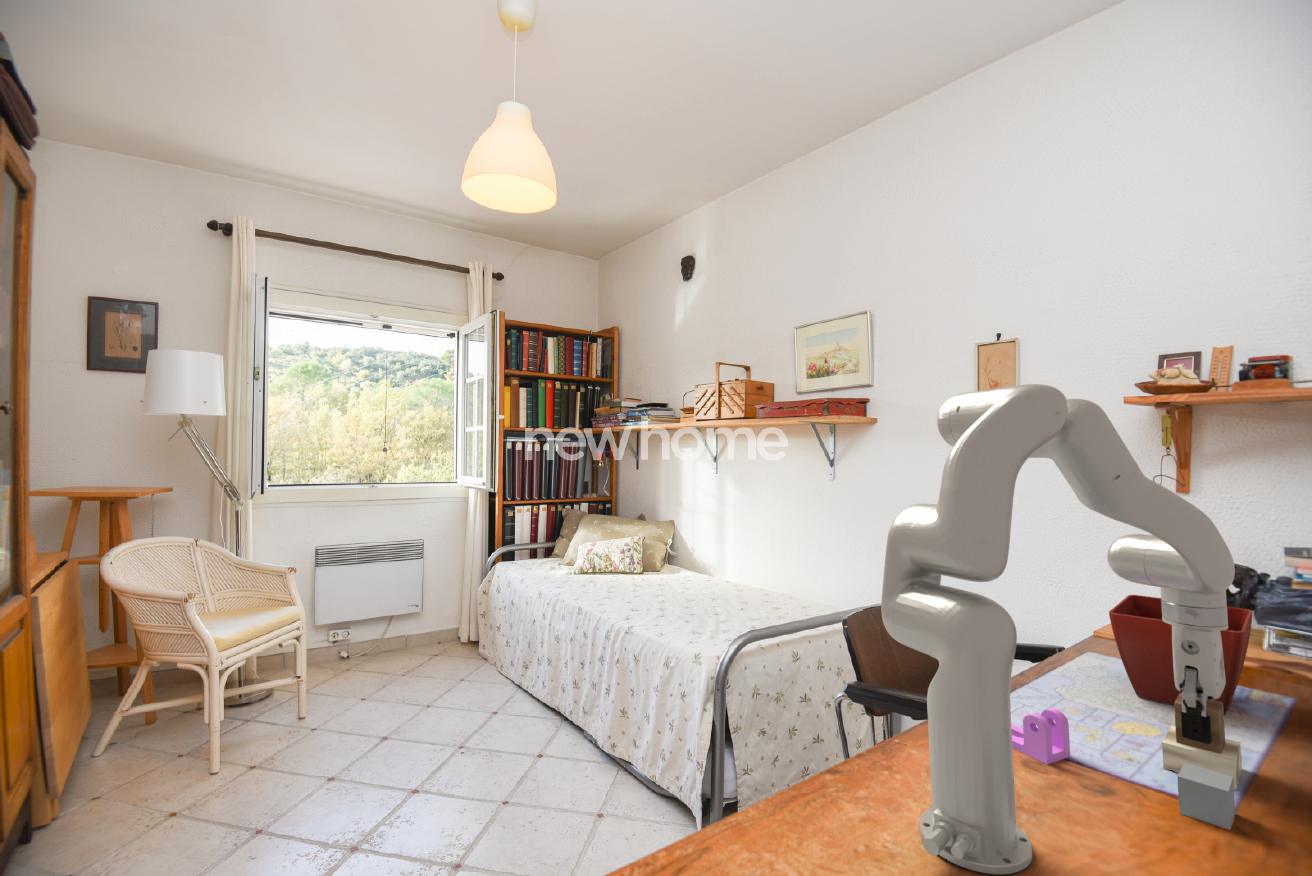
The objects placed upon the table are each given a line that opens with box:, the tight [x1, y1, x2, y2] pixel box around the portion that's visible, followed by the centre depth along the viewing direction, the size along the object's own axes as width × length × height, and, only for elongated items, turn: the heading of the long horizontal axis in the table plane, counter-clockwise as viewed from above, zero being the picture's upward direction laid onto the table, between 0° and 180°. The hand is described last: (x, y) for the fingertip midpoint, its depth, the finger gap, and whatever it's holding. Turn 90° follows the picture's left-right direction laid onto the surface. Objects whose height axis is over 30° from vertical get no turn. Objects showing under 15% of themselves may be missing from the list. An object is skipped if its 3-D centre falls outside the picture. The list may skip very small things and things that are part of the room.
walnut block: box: [1173, 693, 1226, 754], centre depth 91 cm, size 5×5×6 cm
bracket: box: [1011, 708, 1071, 765], centre depth 101 cm, size 13×6×7 cm, turn 23°
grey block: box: [1176, 763, 1236, 831], centre depth 80 cm, size 5×5×5 cm
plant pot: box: [1108, 594, 1254, 716], centre depth 116 cm, size 19×19×17 cm
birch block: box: [1161, 724, 1243, 790], centre depth 91 cm, size 8×8×4 cm
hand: (1200, 731), depth 91 cm, fingers open, 6 cm apart
